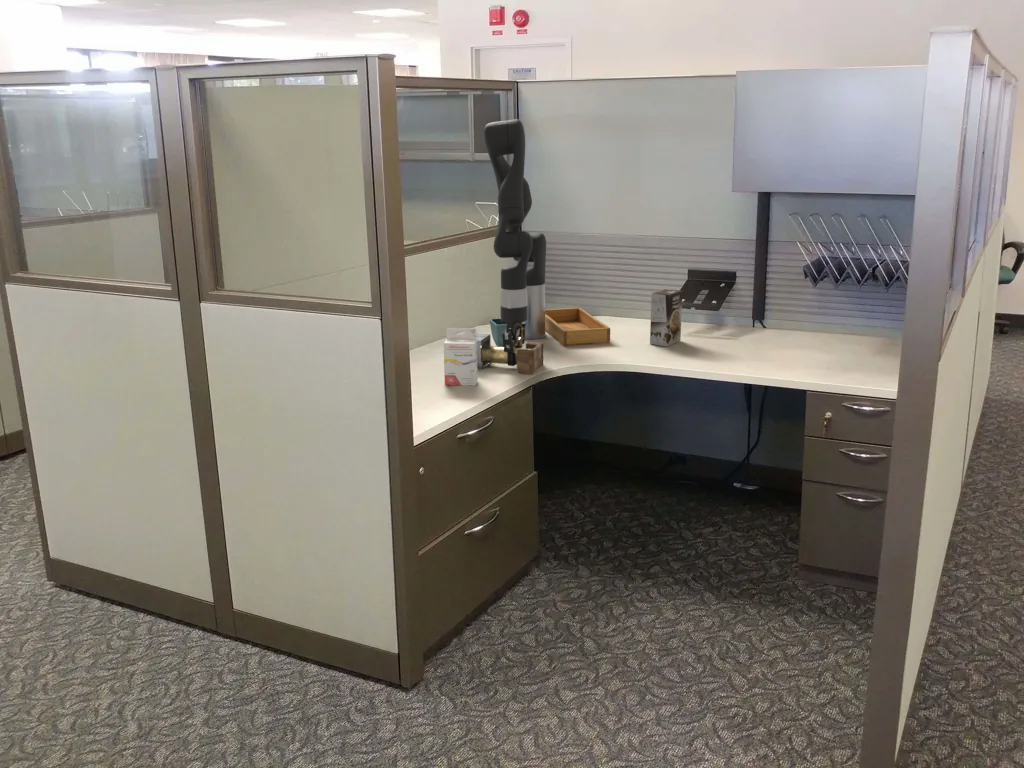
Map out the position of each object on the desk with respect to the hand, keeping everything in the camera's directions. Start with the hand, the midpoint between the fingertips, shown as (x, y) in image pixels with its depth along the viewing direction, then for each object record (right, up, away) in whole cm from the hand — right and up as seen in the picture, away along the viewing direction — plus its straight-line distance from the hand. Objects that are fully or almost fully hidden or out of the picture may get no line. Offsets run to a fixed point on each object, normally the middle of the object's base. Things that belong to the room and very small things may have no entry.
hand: (514, 362), depth 259 cm
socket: (+4, -2, -1) cm, 5 cm away
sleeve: (-12, -1, +4) cm, 13 cm away
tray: (+19, +10, +40) cm, 45 cm away
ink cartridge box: (-14, -6, -13) cm, 20 cm away
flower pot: (-2, +4, +22) cm, 22 cm away
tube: (-2, -1, +1) cm, 3 cm away
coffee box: (+47, +7, +27) cm, 55 cm away
